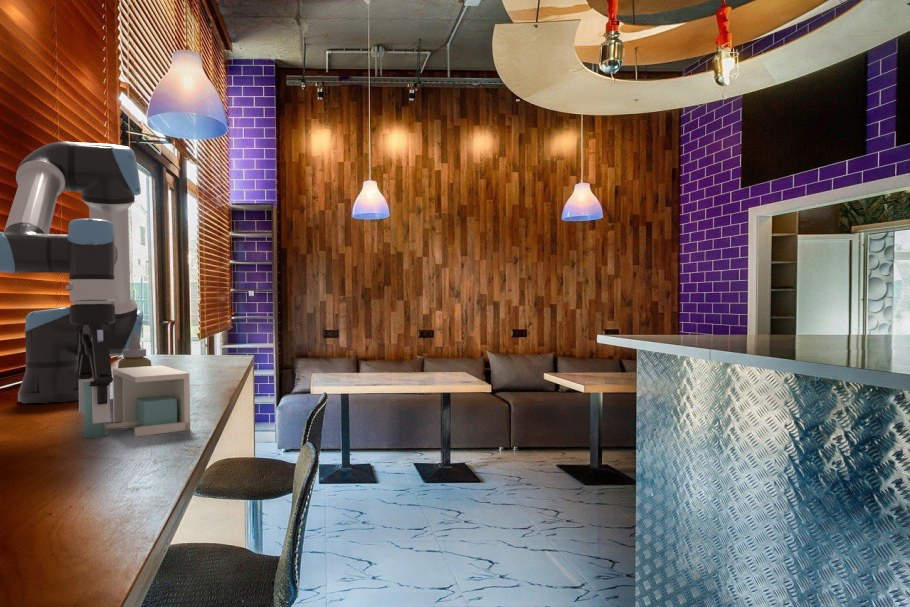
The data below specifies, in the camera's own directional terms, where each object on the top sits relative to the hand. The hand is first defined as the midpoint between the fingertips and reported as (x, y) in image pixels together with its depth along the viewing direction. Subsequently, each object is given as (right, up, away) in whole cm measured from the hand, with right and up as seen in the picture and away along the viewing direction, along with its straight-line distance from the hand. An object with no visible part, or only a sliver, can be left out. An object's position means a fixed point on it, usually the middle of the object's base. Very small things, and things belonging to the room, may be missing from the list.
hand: (94, 417), depth 129 cm
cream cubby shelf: (+6, -3, +10) cm, 12 cm away
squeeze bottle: (-3, -3, +24) cm, 24 cm away
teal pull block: (+5, -3, +4) cm, 7 cm away
